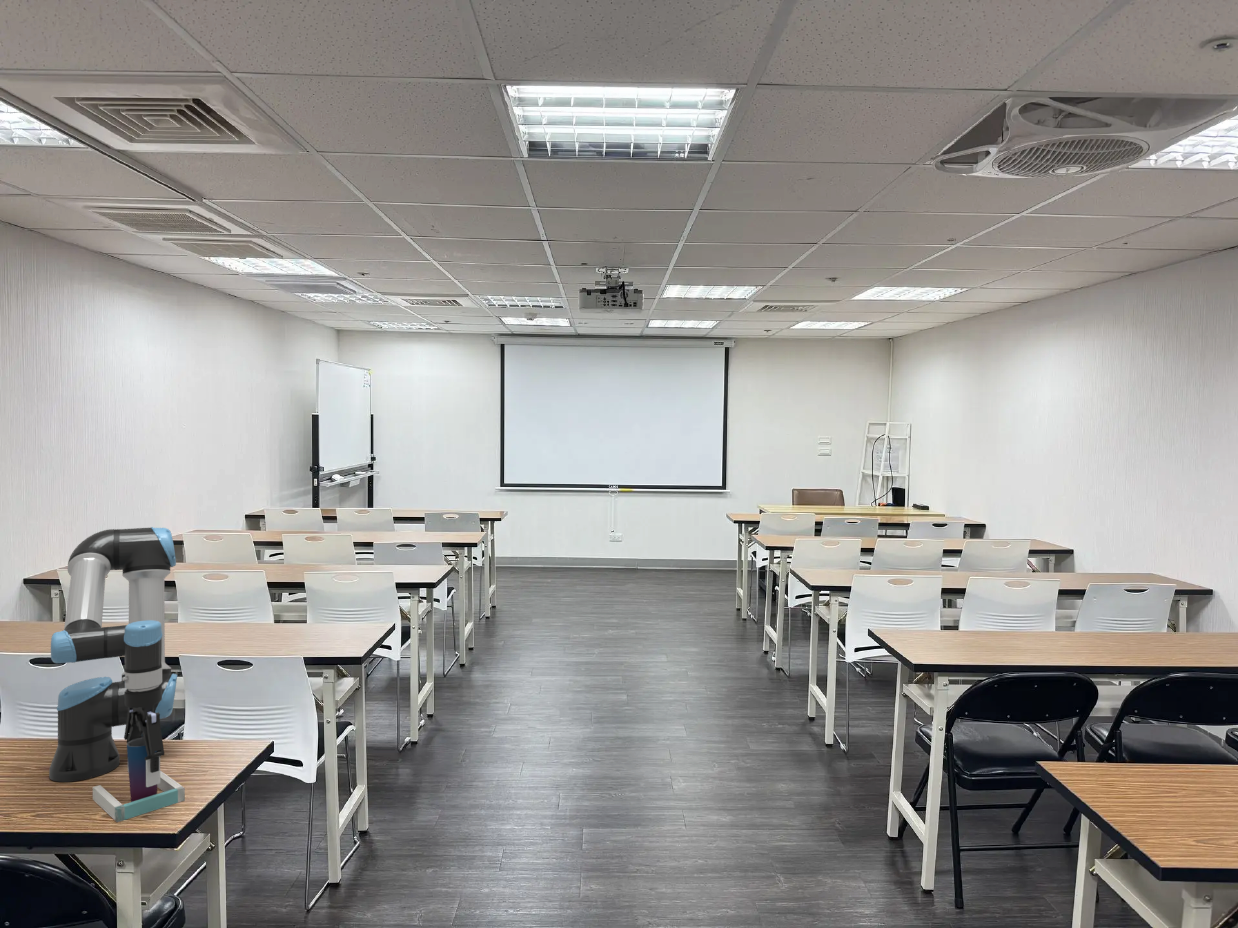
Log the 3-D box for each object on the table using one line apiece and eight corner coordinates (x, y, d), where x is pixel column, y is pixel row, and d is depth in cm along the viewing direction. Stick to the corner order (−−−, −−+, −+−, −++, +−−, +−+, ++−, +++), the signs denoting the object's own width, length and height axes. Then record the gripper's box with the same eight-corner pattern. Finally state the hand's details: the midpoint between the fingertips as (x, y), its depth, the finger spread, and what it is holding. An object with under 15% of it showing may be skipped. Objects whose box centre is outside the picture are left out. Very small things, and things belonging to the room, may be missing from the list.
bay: (92, 799, 176) (92, 786, 176) (157, 779, 187) (157, 768, 187) (117, 822, 165) (117, 808, 165) (184, 800, 176) (184, 787, 176)
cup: (143, 811, 170) (143, 747, 170) (119, 809, 171) (119, 745, 171) (167, 798, 177) (167, 736, 177) (143, 796, 178) (143, 734, 178)
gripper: (108, 681, 179) (109, 769, 179) (143, 701, 163) (143, 797, 163) (143, 674, 185) (143, 759, 184) (180, 693, 169) (180, 786, 169)
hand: (143, 777), depth 174 cm, fingers open, 12 cm apart
